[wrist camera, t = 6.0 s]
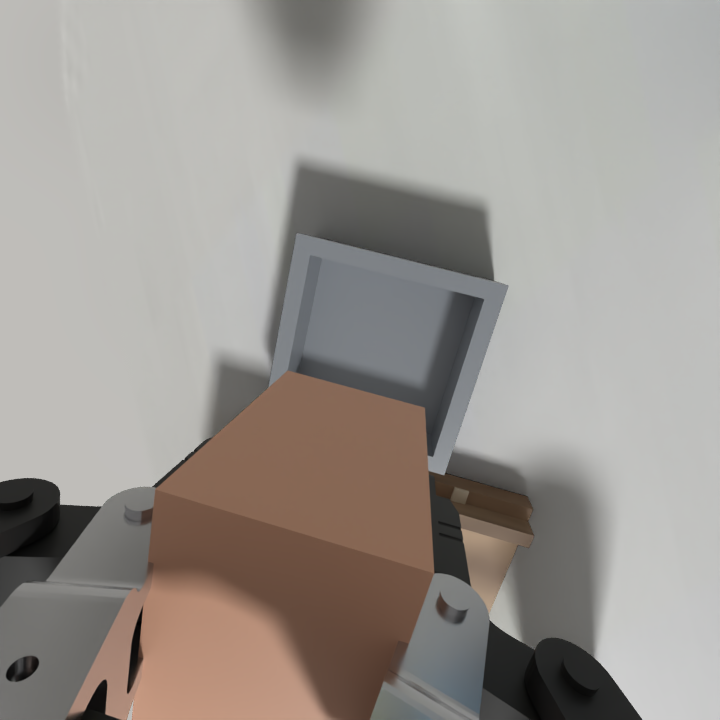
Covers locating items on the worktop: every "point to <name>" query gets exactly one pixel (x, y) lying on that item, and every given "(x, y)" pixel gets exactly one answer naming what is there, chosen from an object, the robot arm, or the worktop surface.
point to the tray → (388, 330)
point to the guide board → (487, 529)
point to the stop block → (288, 559)
